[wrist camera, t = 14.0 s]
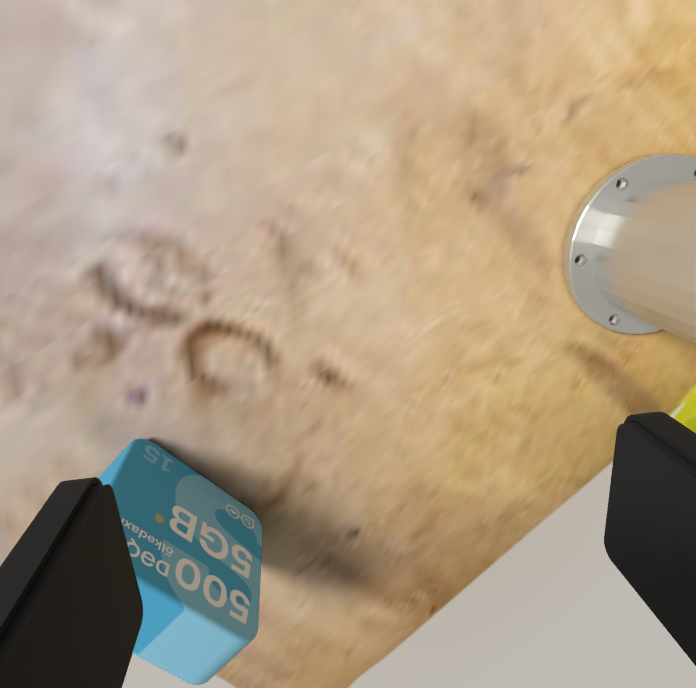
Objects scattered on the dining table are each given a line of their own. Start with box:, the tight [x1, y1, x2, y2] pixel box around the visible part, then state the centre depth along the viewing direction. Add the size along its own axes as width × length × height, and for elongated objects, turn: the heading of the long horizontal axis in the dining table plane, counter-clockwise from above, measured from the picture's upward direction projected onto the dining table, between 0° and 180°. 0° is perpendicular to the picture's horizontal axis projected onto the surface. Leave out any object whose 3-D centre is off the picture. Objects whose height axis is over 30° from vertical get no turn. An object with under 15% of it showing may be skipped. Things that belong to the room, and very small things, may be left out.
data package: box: [98, 439, 263, 685], centre depth 35 cm, size 12×4×12 cm, turn 45°
